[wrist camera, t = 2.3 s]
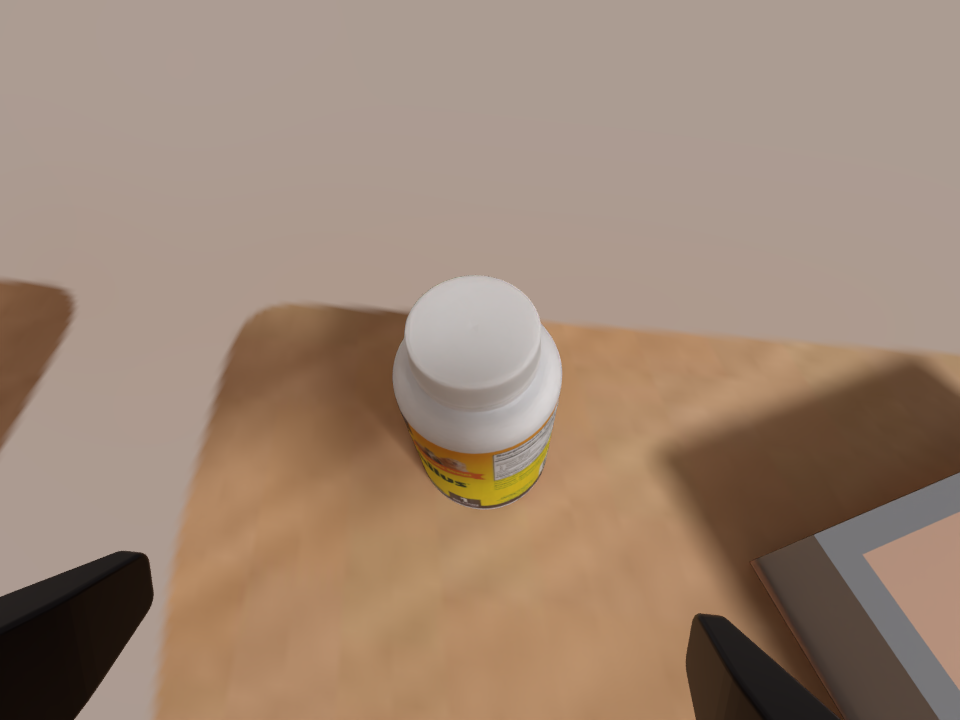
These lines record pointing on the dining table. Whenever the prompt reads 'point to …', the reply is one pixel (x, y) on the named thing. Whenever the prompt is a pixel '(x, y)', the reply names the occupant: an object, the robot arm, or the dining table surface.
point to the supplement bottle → (478, 389)
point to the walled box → (879, 606)
